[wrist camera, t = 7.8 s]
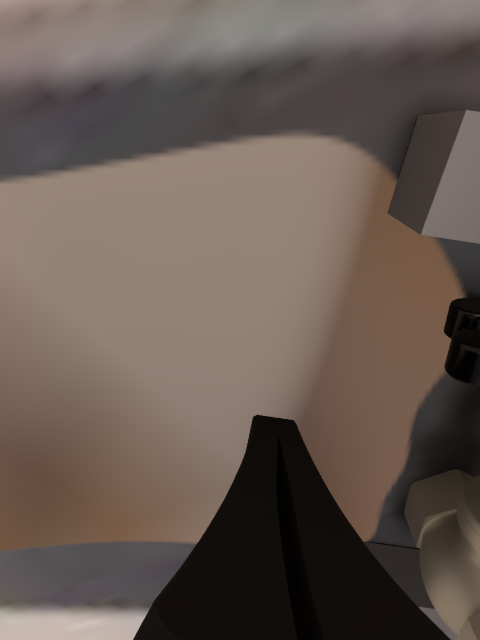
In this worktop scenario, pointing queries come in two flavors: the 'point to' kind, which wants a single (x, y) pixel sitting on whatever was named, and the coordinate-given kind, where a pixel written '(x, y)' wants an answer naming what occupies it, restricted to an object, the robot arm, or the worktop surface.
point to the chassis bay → (444, 222)
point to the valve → (452, 501)
